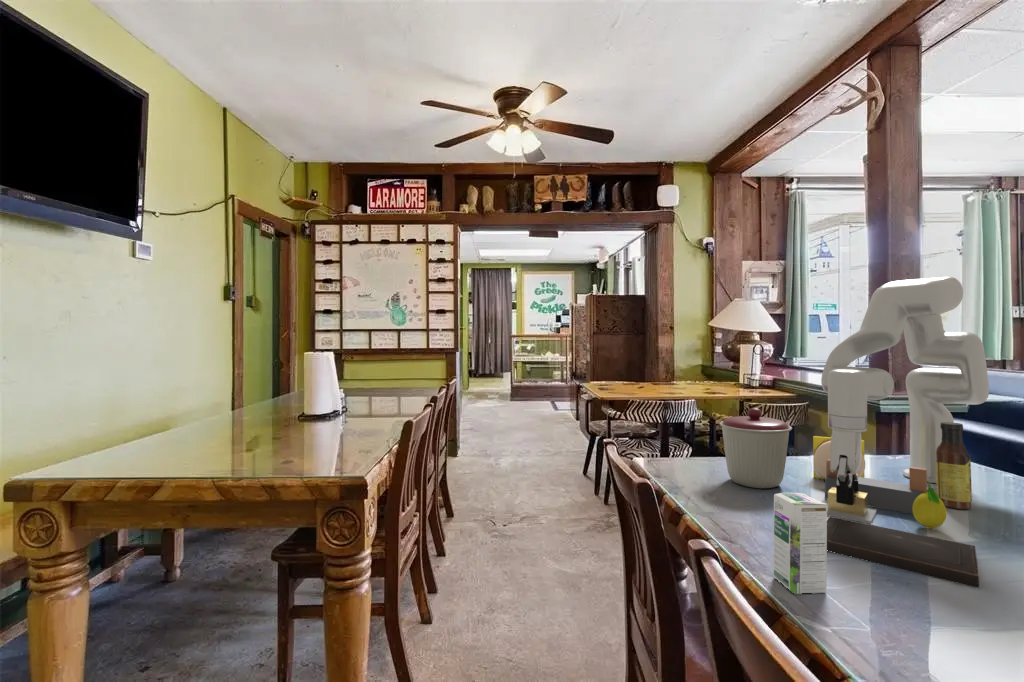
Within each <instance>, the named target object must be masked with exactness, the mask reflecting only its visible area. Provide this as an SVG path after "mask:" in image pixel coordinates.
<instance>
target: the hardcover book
mask: <svg viewBox="0 0 1024 682" xmlns="http://www.w3.org/2000/svg"><path fill="white" fill-rule="evenodd" d="M827 550H828V551H827V552H829V551H832V552H831V553H833V552H835V553H834V554H837V553H838V555H841V554H843V555H842V556H845V555H846V557H849V556H852V557H851V558H853V557H854V559H857V558H859V559H858V560H861V559H863V561H866V560H867V562H870V561H871V563H874V562H875V564H878V563H879V565H882V564H883V565H884V566H886V565H887V566H886V567H889V568H895V569H899V570H903V571H906V572H912V573H915V574H919V575H923V576H928V577H931V578H936V579H938V580H939V579H940V580H945V581H948V582H953V583H957V584H961V585H965V586H968V587H973V588H977V589H979V587H980V586H979V585H980V582H979V581H980V577H979V569H978V561H977V560H978V559H977V552H976V551H977V550H976V546H975V545H973V544H967V543H962V542H958V541H953V540H948V539H942V538H939V537H934V536H933V537H932V536H929V535H925V534H924V535H923V534H920V533H919V534H918V533H914V532H908V531H903V530H898V529H893V528H889V527H888V528H887V527H883V526H878V525H873V524H868V523H864V522H859V521H854V520H849V519H844V518H839V517H835V516H828V517H827ZM883 565H882V566H883Z"/></svg>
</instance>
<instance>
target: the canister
mask: <svg viewBox="0 0 1024 682" xmlns="http://www.w3.org/2000/svg"><path fill="white" fill-rule="evenodd" d="M762 414H763V412H762V410H761V409H759V408H757V407H752V408H749V409H748V410H747V415H743V416H741V415H739V416H731V417H727V418H725V419H724V420H722V421H720V422H719V425H720V427H722V428H721V429H722V437H723V445H724V448H723V449H724V455H725V460H726V461H725V462H726V468H727V473H728V475H729V478H730V479H731V481H732V482H734V483H735V484H738V485H740V486H744V487H749V488H753V489H772V488H776V487H778V486H779V485H780V484H781V483H782V481H783V479H784V476H785V469H786V463H787V462H786V461H787V453H788V445H789V444H788V443H789V438H790V437H789V436H790V431H792V430H793V427H792V426H791V425H789V424H788V423H786V422H785V421H783V420H780V419H777V418H771V417H765V416H762Z"/></svg>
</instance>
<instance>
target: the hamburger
mask: <svg viewBox="0 0 1024 682" xmlns="http://www.w3.org/2000/svg"><path fill="white" fill-rule="evenodd" d="M812 438H813V441H812V442H813V444H812V447H813V451H812V452H813V453H812V454H813V459H812V460H813V461H812V463H813V478H814V479H819V478H821V479H820V480H825V478H826V477H827V476H826V460H827V459H830V451H831V436H830V437H828V436H818V435H815V436H814V435H813V437H812ZM865 470H866V460H865V440H863V439H861V467H860V469H859V470H858V472H857V474H858V477H863V478H866V476H865ZM846 472H847V471H846Z"/></svg>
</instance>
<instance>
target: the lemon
mask: <svg viewBox="0 0 1024 682" xmlns="http://www.w3.org/2000/svg"><path fill="white" fill-rule="evenodd" d="M930 484H931V483H930V482H927V487H928V489H927V491H925V492H923V493H921V494H920V495H919V496H918V497H917V498H916V499H915V501H914V503H913V509H912V510H913V514H912V515H913V517H914V519H915V520H916V521H917V522H918V523H919V524H921V525H922V526H924V527H926V528H927V529H929V530H932V529H933V528H936V527H940V526H942V525H943V524H945V522H946V519H947V515H948V514H947V507H946V506H945V505H944V503H943V502H942V500H941V499H940V498H938V495H937V491H936V490H935V488H932V487H931V485H930Z"/></svg>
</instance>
